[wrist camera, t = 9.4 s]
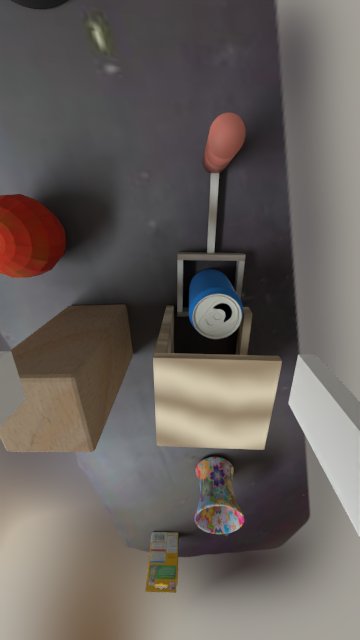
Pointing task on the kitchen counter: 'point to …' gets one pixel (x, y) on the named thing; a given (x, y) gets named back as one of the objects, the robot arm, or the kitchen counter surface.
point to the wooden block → (69, 379)
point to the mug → (217, 497)
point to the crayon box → (163, 562)
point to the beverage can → (214, 304)
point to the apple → (28, 237)
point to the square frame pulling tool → (216, 197)
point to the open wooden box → (213, 393)
